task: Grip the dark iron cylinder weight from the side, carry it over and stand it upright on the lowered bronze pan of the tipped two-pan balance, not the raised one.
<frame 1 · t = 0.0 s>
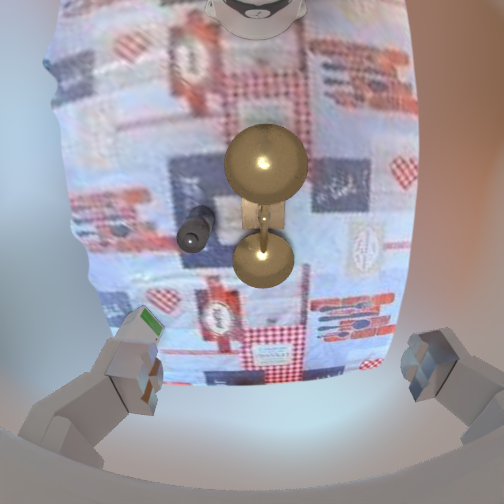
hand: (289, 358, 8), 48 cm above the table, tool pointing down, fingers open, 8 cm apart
iron weight: (201, 218, 57), on the table
balance: (263, 207, 56), on the table
skincare box: (145, 319, 68), on the table
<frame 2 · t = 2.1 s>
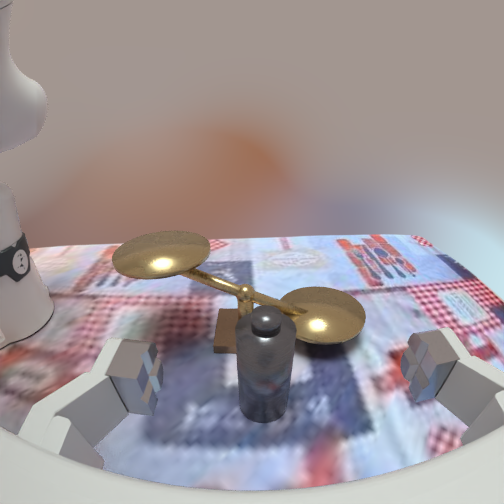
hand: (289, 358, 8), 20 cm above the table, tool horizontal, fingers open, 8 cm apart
iron weight: (263, 404, 28), on the table
balance: (246, 332, 39), on the table
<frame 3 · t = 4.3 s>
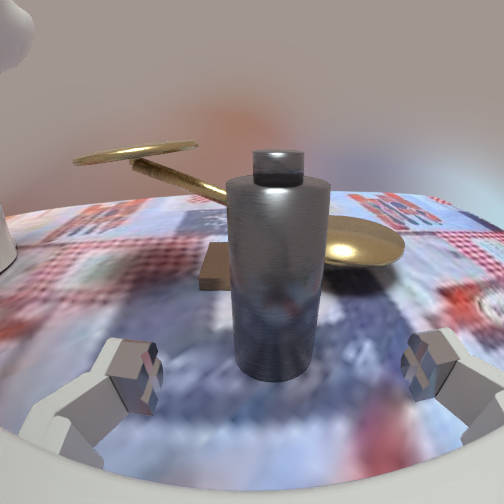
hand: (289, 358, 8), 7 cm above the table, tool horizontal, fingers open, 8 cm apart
iron weight: (273, 353, 18), on the table
balance: (245, 268, 29), on the table
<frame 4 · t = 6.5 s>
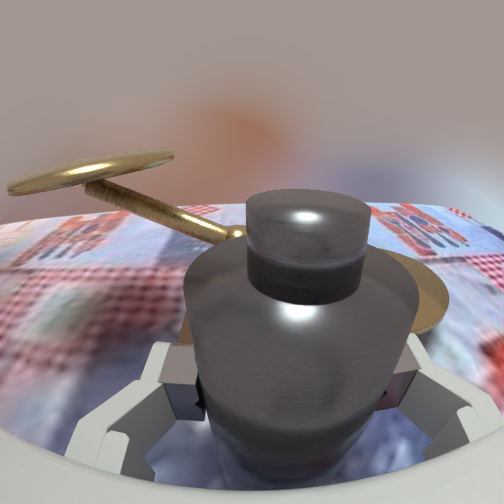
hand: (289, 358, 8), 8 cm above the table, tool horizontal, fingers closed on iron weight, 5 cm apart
iron weight: (277, 471, 11), on the table, touching gripper
balance: (241, 322, 22), on the table
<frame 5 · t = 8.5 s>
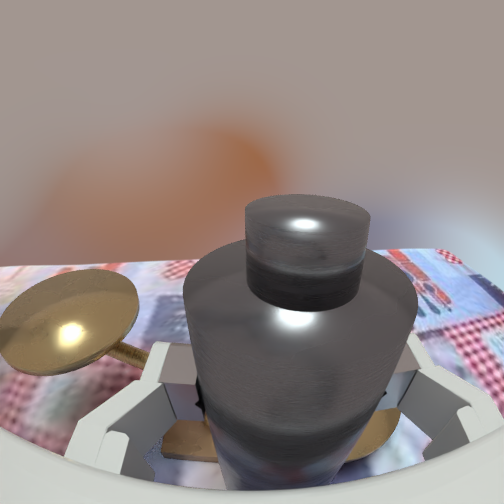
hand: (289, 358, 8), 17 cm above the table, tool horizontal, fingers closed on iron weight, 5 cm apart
iron weight: (276, 473, 11), point 9 cm above the table, touching gripper
balance: (214, 424, 22), on the table
when the fingers open (13 cm above the table, at t = 10.6 s): iron weight stays where it is, resting on balance.
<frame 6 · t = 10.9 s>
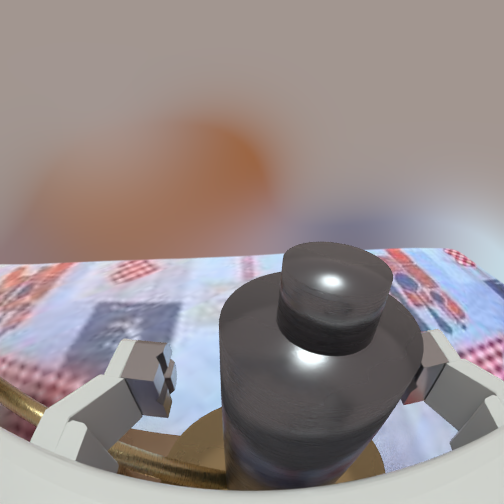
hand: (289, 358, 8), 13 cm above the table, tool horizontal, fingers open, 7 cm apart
iron weight: (275, 479, 11), point 4 cm above the table, touching balance
balance: (119, 479, 13), on the table
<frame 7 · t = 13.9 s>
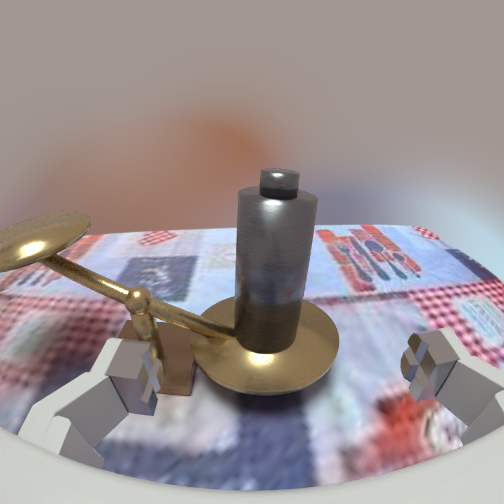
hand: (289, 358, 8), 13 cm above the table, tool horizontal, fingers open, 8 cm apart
iron weight: (265, 331, 23), point 4 cm above the table, touching balance
balance: (154, 358, 24), on the table
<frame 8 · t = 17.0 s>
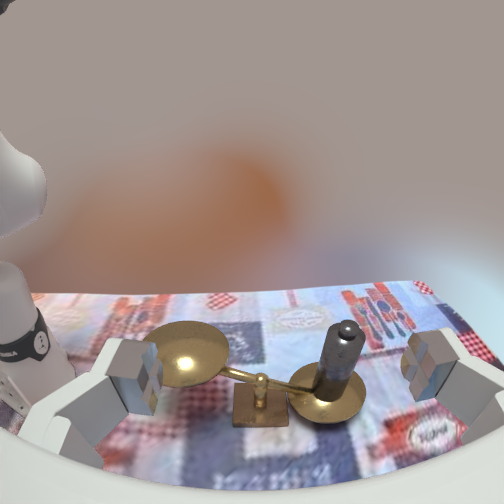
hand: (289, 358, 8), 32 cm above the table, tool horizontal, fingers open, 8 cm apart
iron weight: (327, 389, 38), point 4 cm above the table, touching balance
balance: (260, 406, 40), on the table
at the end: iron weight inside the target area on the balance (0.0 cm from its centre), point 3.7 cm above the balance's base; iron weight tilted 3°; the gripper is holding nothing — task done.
